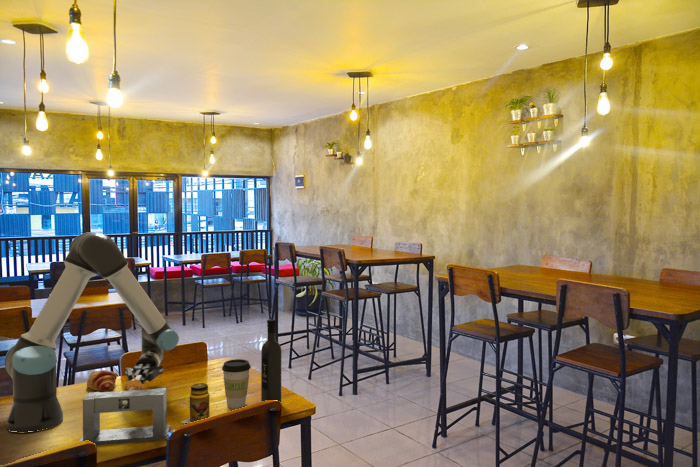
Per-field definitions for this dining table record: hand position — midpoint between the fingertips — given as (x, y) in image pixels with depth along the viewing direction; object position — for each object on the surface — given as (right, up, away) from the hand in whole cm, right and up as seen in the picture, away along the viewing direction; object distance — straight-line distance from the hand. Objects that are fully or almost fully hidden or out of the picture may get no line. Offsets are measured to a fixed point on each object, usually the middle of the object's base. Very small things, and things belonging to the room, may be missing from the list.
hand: (135, 385), depth 165 cm
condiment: (+21, -11, -1) cm, 24 cm away
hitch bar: (+3, -11, -14) cm, 18 cm away
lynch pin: (+2, -3, -9) cm, 9 cm away
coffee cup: (+30, -11, +13) cm, 34 cm away
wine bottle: (+42, -11, +14) cm, 45 cm away
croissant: (-26, -10, +31) cm, 42 cm away
